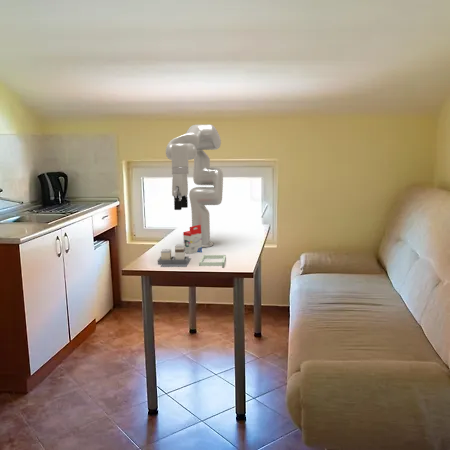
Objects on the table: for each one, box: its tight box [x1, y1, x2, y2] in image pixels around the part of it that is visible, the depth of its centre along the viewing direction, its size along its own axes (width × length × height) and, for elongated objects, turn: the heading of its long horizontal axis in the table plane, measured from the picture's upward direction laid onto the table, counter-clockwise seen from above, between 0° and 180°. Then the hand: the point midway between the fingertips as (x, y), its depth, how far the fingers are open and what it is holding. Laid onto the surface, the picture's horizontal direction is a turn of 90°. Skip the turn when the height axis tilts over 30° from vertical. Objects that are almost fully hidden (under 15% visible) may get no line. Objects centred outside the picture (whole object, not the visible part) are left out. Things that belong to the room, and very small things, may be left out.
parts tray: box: [198, 254, 227, 269], centre depth 228 cm, size 14×11×2 cm
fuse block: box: [157, 248, 192, 268], centre depth 228 cm, size 16×14×7 cm
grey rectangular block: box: [174, 244, 186, 260], centre depth 228 cm, size 4×4×8 cm
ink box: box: [182, 225, 203, 255], centre depth 248 cm, size 8×5×15 cm, turn 141°
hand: (181, 208), depth 226 cm, fingers open, 9 cm apart
